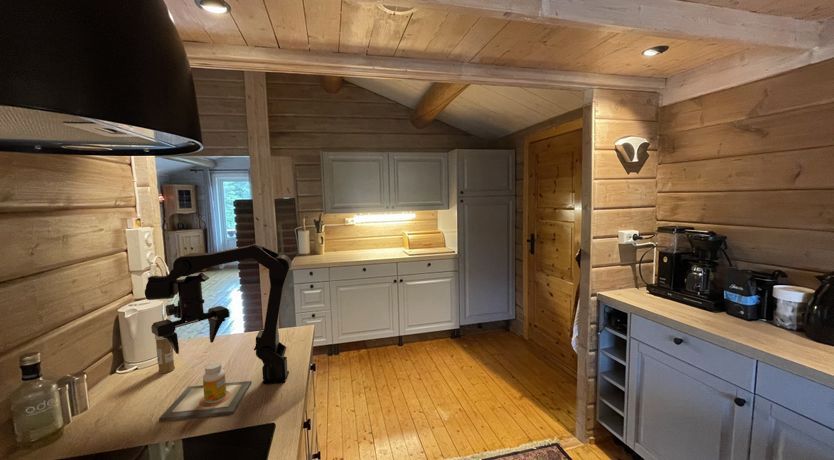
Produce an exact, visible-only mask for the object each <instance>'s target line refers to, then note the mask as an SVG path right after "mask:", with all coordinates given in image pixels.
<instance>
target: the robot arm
mask: <svg viewBox="0 0 834 460" xmlns="http://www.w3.org/2000/svg"><path fill="white" fill-rule="evenodd" d="M249 259H253V260H254V261H256V262H257V263H259V264H260V265H261V266H262V267H264V268H266V269H267V270H268V277H269V278H268V279H269V283H270V285H269V293H268V294H269V295H268V300H267V307H266V314H265V320H264V326H263V330H262V329H260V330H258V333H257V335H256V337H255V347H254V348H253V351H255V356H256V357H257V358H258V359H259V360H261V361H262V364H263V366H262V370H261V371H262V380H263V382H262V385H272V384H283V383H286V380H287V379H288V376H289V374H290V371H289V370H288V357H287V356H285V355H286V350H287V346H286V345H284V344H283V343H281V342H280V333H279V327H278V326H279V320H280V316H281V315H280V314H281V313H280V312H281V307H282V301H283V300H282V299H283V296H284V295H283V294H284V289H285V288H284V287H285V284H286V280H287V279H288V275H289V274H290V273H289V272H290V270H291V267H292V260H291V258H290V257H289V256H288V255H286V254H279V253H277V252H276V251H273V250H271V249H269V248H267V247H265V246H263V245H262V244H260V243H252V244H251V245H245V246H240V247H236V248H229V249H226V250H219V251H215V252H192V253H186V254H184V255H182V256H179V257H177V258H176V259H175V260H174V261H173V263H172V264H173V265H172V268H171V271H170V272H169V273H168V274H167V275H151V276H148V277H147V283H146V285H145V290H144V296H145V299H146V300H147V301H155V300H156V301H157V300H169V299H173V298H174V297H175V296H176V295H178V300H177V305H175V304H174V303H172V304H168V305H167V304H166V305H165V313H166V317H171V316H173V317H174V319H176V318H177V319H178V320H174V321H172V320H171V319H163V320H160V321H156V322H153V323H152V325H151V327H150V330H151V333H152V334H154V336H155V335H156V336H158V337H163V338H167V339H168V341H169V342H170V344H171V346H172V347H173V352H175V354H177V355H179V353H180V347H179V337H178V333H177V332H176V328H181V327H184V326H187V325H191V324H195V323H197V322H201V321H205V320H207V322H208V325H209V326H208V327H209V342H210V343H214V341H215V339H216V336H217V334H218V331H219V330H220V328H221V326H222V324H223V323H224V322H225V321H226V319H228V318H230V316H231V315H230V310H229V309H228V308H227V307H224V306H221V305H219V306H218V305H217V306H214V307H211V308H208V311H207V312H204V304H205V299H203V287H202V283H204V282H206V281H208V280H209V279H210V277H209V276H207V275H206V274H204V272H202V271H203V270H206V269H209V268H211V267H216V266H220V265H225V264H230V263H236V262H240V261H245V260H249ZM199 272H200V273H199ZM196 273H198V274H197V275H194V274H196ZM182 277H185V278H182Z"/></svg>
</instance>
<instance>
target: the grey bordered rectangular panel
mask: <svg viewBox="0 0 834 460" xmlns="http://www.w3.org/2000/svg"><path fill="white" fill-rule="evenodd" d="M252 383H253V382H252V380H246V381H236V382H235V381H233V382H226V397H225V398H224V399H222V400H221V401H219V402H215V403H206V402H205V400H204V387H203V384H202V385H190V386H187V387H186V389H184V390H183V391H182V393H181V394H180V395H178V397H177V398H176V399H175V400H174V401H173V403H171V404H170V406H169V407H167V409H166V410H165V411H164V412H163V413H162V414H161V415H160V416H159V418H158V422H166V421H175V420H186V419H187V420H188V419H195V418H206V417H213V416H214V417H215V416H223V415H224V416H225V415H234V413H235V411H237V408H238V407H239V405H240V404H241V401H242V400H243V399H244V396H245V395H246V393H247V391H248V390H249V388H250V387H251V385H252Z"/></svg>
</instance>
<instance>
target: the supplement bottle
mask: <svg viewBox="0 0 834 460" xmlns="http://www.w3.org/2000/svg"><path fill="white" fill-rule="evenodd" d="M222 365H223V364H222V363H221V362H219V361H214V362H210V363H208V364H207V365H205V366H204V372H205V373H204V374H203V376H202V385H203V387H204V400H205V402H206V403H215V402H219V401H221V400H222V399H224V398H225V397H226V383H227V382H226V372H225V370H224V369H223V368H222Z"/></svg>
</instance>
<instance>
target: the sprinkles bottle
mask: <svg viewBox="0 0 834 460" xmlns="http://www.w3.org/2000/svg"><path fill="white" fill-rule="evenodd" d="M154 339H155V346H156V347H155V348H156V349H155V350H156V356H157V357H156V358H157V359H156V360H157V365H158V373H159V374H166V373H170V372H172V371H174V370H175V369H176V366H175V360H174V358H175V356H174V349H173V347H172V346H171V344H170V342H169V341H168V339H167V338H163V337H158V336H156V335H155V334H154Z"/></svg>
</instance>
